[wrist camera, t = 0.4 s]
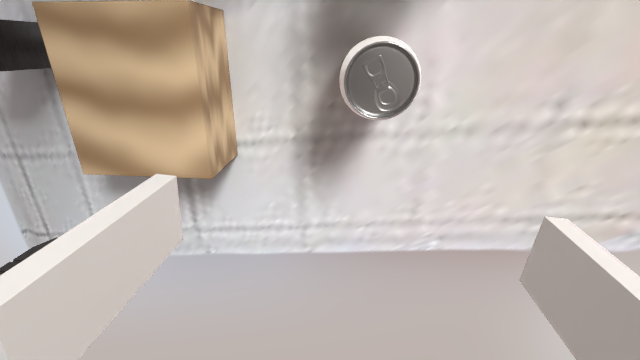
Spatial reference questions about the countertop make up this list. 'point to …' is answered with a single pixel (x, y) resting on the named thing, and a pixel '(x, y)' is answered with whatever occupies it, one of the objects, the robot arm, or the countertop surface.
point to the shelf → (143, 85)
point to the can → (380, 77)
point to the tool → (22, 46)
